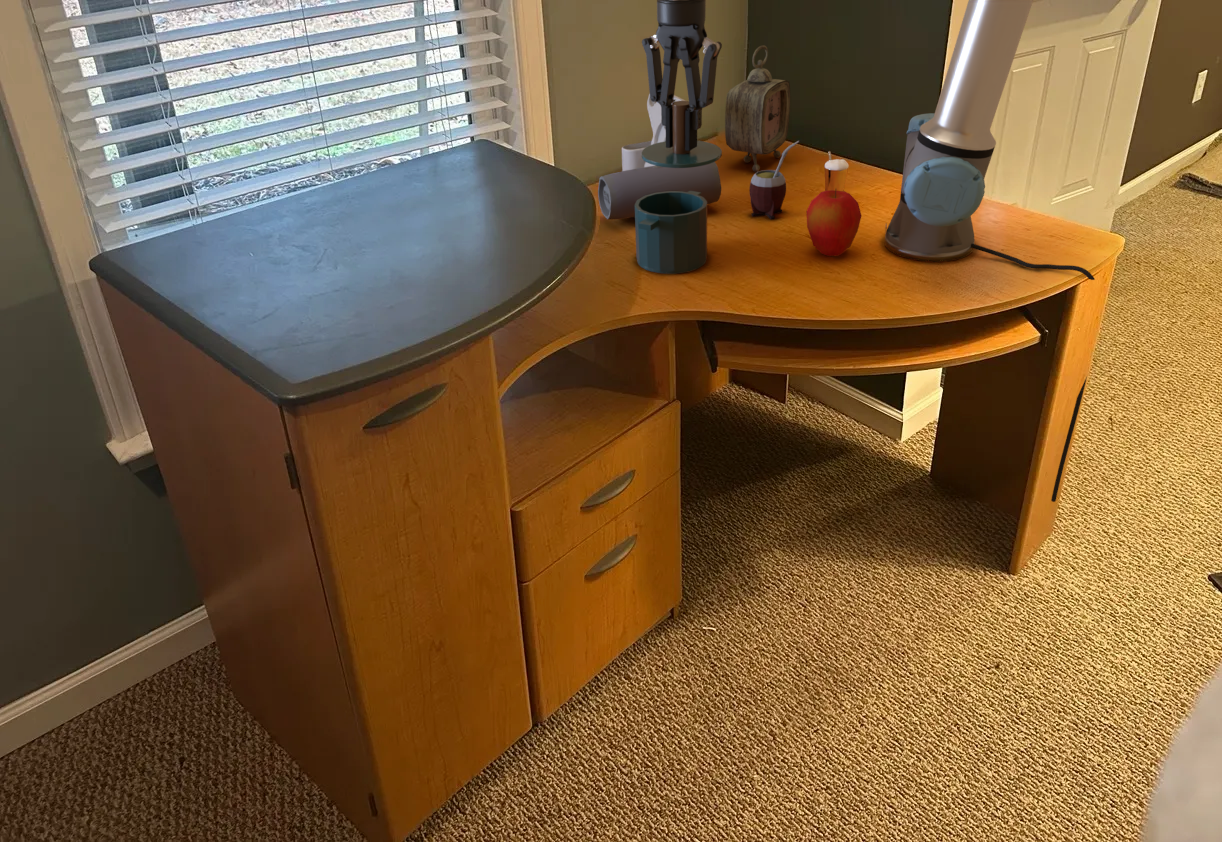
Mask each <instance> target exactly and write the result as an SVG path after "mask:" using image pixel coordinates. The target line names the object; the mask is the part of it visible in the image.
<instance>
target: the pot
mask: <svg viewBox="0 0 1222 842" xmlns="http://www.w3.org/2000/svg"><path fill="white" fill-rule="evenodd" d="M634 223H635V224H634V225H635V226H634V227H635V229H634V230H635V254H636V255H635V257H636V262H637V265H638V266H639V267H640V268H642V269H644V270H646V271H648V272H651V273H656V274H662V275H663V274H665V275H667V274H668V275H675V274H685V273H688V272H692V271H695V270H698V269H700V268H702V267H703V266H704V265H705V264H706V263H707V257H708V204H707V201H706V200H705V198H704V197H702V196H701V192H695V191H688V192H683V191H666V192H658V193H653V194H649V195H646V196H643V197H642V198H640V199H638V200H637V201H636V203H635V218H634Z"/></svg>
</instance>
